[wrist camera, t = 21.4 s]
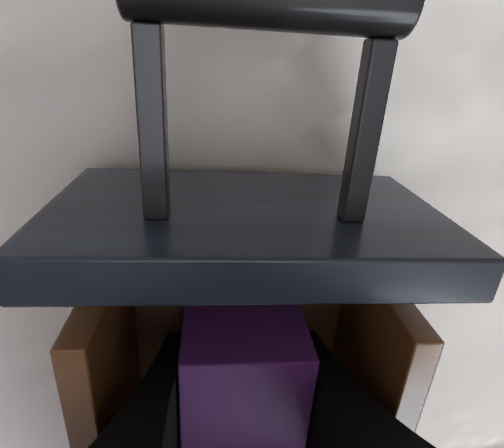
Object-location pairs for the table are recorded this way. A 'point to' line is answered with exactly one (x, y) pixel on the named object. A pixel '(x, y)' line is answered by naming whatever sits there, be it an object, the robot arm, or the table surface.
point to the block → (245, 377)
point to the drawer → (246, 234)
